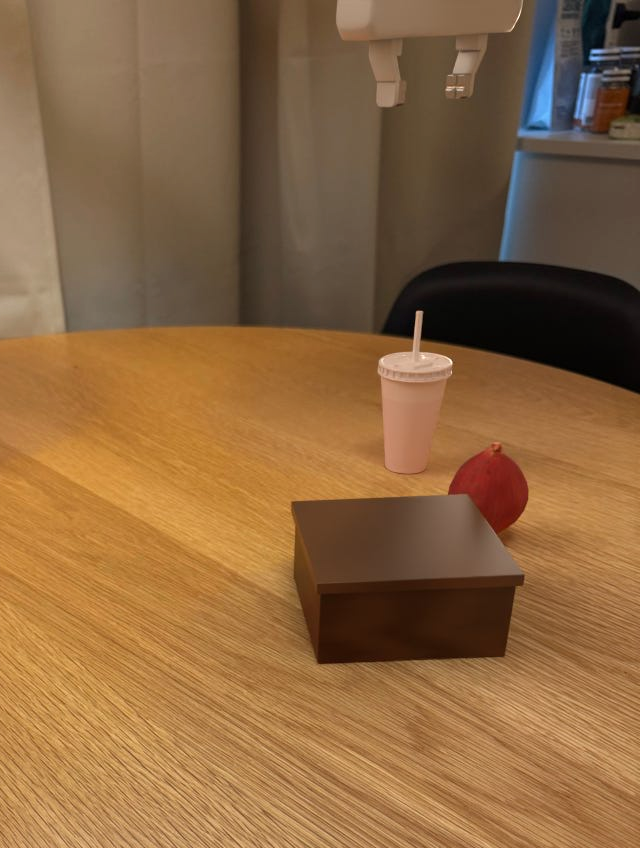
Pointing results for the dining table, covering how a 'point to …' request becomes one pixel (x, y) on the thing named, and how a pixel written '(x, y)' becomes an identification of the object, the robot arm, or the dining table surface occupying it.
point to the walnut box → (402, 578)
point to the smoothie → (411, 403)
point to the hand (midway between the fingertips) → (425, 102)
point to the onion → (493, 486)
